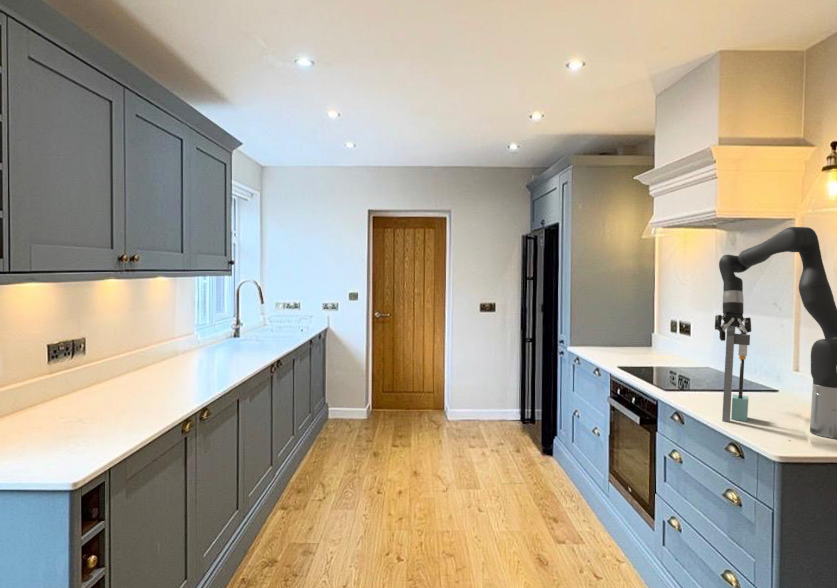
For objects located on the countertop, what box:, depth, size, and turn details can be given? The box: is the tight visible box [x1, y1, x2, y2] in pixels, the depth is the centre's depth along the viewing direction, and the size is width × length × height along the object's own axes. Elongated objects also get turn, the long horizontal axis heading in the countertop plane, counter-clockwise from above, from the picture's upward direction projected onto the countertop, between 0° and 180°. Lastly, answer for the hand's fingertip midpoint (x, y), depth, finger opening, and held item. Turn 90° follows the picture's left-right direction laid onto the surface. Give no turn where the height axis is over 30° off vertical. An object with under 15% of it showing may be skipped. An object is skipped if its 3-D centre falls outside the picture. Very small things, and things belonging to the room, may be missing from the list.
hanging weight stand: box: [721, 326, 751, 423], centre depth 206 cm, size 8×7×35 cm
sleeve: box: [730, 393, 750, 422], centre depth 209 cm, size 7×5×8 cm
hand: (732, 341), depth 232 cm, fingers open, 8 cm apart
